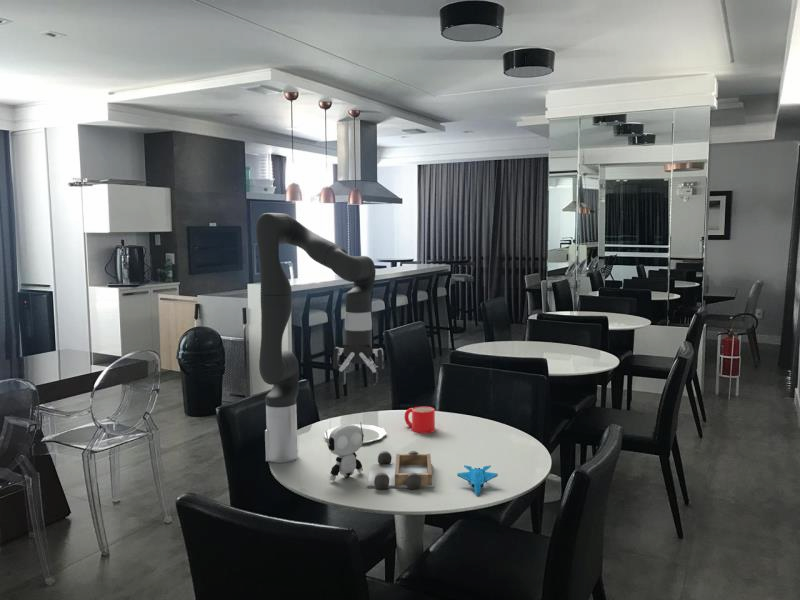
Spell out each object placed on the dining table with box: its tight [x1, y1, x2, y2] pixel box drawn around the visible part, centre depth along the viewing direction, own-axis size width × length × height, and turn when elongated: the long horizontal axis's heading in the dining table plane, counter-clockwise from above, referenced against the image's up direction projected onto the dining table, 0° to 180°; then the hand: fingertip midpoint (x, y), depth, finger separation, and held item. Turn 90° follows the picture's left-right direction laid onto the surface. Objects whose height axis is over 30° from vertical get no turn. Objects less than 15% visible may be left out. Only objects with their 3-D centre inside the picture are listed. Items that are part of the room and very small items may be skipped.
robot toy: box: [325, 422, 365, 482], centre depth 185 cm, size 12×4×15 cm, turn 131°
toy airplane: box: [456, 464, 499, 497], centre depth 178 cm, size 12×10×4 cm
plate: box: [323, 423, 387, 445], centre depth 224 cm, size 21×21×2 cm
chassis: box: [366, 450, 435, 491], centre depth 186 cm, size 18×20×4 cm
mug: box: [404, 406, 436, 434], centre depth 230 cm, size 8×12×8 cm, turn 55°
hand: (358, 384), depth 186 cm, fingers open, 8 cm apart
